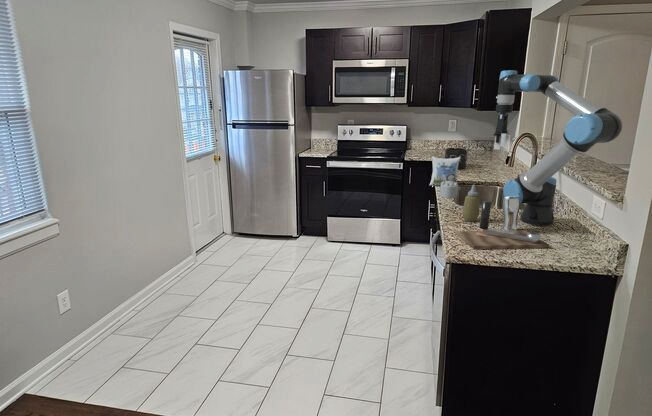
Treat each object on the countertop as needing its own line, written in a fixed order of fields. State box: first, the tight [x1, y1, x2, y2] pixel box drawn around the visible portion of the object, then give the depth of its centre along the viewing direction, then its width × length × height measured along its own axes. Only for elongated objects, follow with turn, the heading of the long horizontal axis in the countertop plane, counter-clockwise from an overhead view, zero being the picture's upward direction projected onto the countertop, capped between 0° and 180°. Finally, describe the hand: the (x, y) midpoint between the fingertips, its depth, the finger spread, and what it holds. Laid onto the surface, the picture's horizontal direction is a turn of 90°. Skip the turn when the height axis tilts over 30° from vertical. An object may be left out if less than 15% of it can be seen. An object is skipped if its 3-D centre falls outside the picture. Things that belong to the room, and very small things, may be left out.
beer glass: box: [502, 196, 520, 231], centre depth 193 cm, size 7×7×15 cm
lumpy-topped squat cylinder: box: [439, 181, 459, 199], centre depth 255 cm, size 10×13×9 cm
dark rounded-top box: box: [444, 147, 469, 171], centre depth 345 cm, size 18×18×16 cm
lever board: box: [456, 229, 550, 250], centre depth 181 cm, size 32×20×2 cm, turn 95°
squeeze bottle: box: [462, 184, 481, 223], centre depth 206 cm, size 8×8×18 cm
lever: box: [478, 200, 542, 243], centre depth 178 cm, size 24×5×14 cm, turn 59°
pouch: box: [428, 156, 461, 186], centre depth 279 cm, size 8×19×20 cm, turn 86°
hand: (499, 147), depth 209 cm, fingers open, 13 cm apart
